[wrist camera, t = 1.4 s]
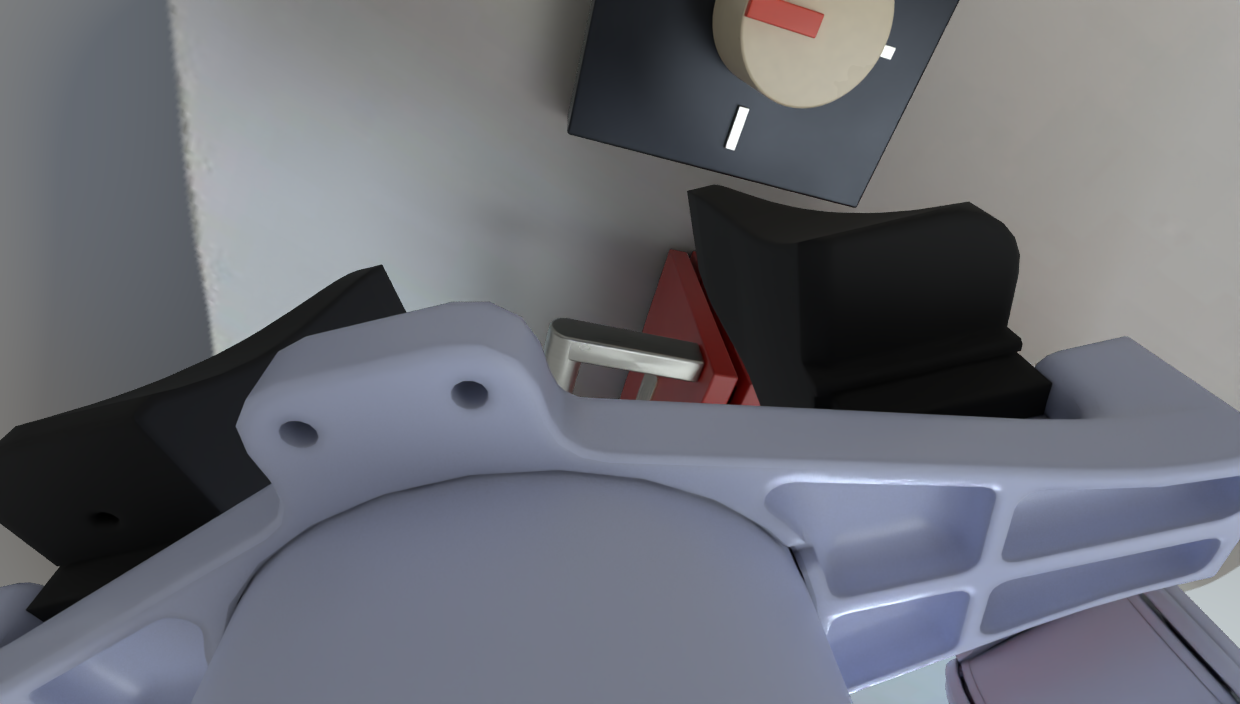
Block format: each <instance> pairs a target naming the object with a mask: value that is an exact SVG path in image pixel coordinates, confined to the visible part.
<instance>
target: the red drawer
mask: <svg viewBox="0 0 1240 704" xmlns="http://www.w3.org/2000/svg"><path fill="white" fill-rule="evenodd" d="M544 354H545V357H546V360H547V362H548V365H549V368H550V371H551V373H552V375H553V376H554V378H555V380H556V382H557V384H558V385H559V386H560V387H561V388H562V389H563V390H565V391H567V392H569V393H571V394H573V390H574V386H575V383H576V379H577V376H578V372H579V368H580V365H581V362H582V363H588V364H593V365H599V366H604V367H610V368H616V369H621V370H627V371H629V373H628V376H627V379H626V382H625V385H624V388H623V390H622V393H621V396H620V399H627V400H647V401H668V402H688V403H709V404H727V402H728V400H729V398H730V396H731V393H732V391H733V389H734V387H735V385H736V383H737V380H738V376H737V374H736V371H735V369H734V367H733V364H732V362H731V359H730V357H729V354H728V352H727V349H726V347H725V344H724V342H723V340H722V337H721V335H720V332H719V330H718V327H717V325H716V322H715V320H714V318H713V315H712V313H711V310H710V308H709V305H708V303H707V300H706V298H705V295H704V293H703V291H702V288H701V286H700V283H699V281H698V278H697V276H696V273H695V271H694V268H693V266H692V264H691V261H690V259H689V256H688V254H687V253H686V252H682V251H677V250H673V249H670V250H669V253H668V256H667V259H666V262H665V265H664V268H663V271H662V274H661V277H660V280H659V283H658V286H657V289H656V292H655V295H654V298H653V301H652V304H651V307H650V310H649V313H648V316H647V319H646V322H645V325H644V328H643V331H642V332H637V331H632V330H627V329H621V328H616V327H611V326H606V325H601V324H596V323H590V322H585V321H580V320H575V319H570V318H557V319H554V320H553V321H552V322H551V323H550V325H549V329H548V333H547V338H546V342H545V346H544Z"/></svg>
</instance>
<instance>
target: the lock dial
mask: <svg viewBox="0 0 1240 704" xmlns="http://www.w3.org/2000/svg"><path fill="white" fill-rule="evenodd" d="M894 3H895V2H894V0H716V1H715V5H714V11H713V25H712V27H713V37H714V41H715V45H716V48H717V51H718V54H719V56H720V58H721V60H722V61H723V63H724V64H725V66H726V67H727V68H728V69H729V70H730V72H731V73H732V74H734V75H735V76H736V77H737V78H739V79H740V80H742V81H743V82H745V83H746V84H748V85H749V86H751V87H752V88H754V89H755V90H757V91H758V92H760V93H761V94H763V95H764V96H766V97H767V98H769V99H770V100H772V101H774V102H776V103H778V104H780V105H783V106H786V107H791V108H802V109H804V108H814V107H818V106H822V105H825V104H828V103H831V102H833V101H835V100H837V99H839V98H841V97H842V96H844V95H845V94H847V93H848V92H850V91H851V90H852V89H853V88H854V87H856V86H857V85H858V84H859V83H860V82H861V81H862V80H863V79H864V78H865V77H866V76H867V74H868V73H869V72H870V71H871V69H872V68H873V67H874V65H875V64H876V62H877V61H878V59H879V57H880V55H881V53H882V52H883V50H884V48H885V45H886V43H887V40H888V37H889V34H890V31H891V27H892V22H893V16H894Z"/></svg>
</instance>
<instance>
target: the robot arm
mask: <svg viewBox="0 0 1240 704" xmlns="http://www.w3.org/2000/svg"><path fill="white" fill-rule="evenodd" d="M687 193H688V200H689V207H690V214H691V221H692V227H693V234H694V241H695V248H696V255H697V261H698V268H699V272H700V275H701V278H702V281H703V284H704V287H705V290H706V293H707V295H708V298H709V301H710V303H711V305H712V307H713V309H714V310H715V312H716V314H717V316H718V318H719V320H720V322H721V324H722V325H723V327H724V329H725V331H726V333H727V335H728V336H729V338H730V340H731V342H732V344H733V346H734V347H735V349H736V351H737V353H738V355H739V357H740V358H741V360H742V362H743V364H744V366H745V368H746V371H747V373H748V375H749V377H750V380H751V382H752V385H753V388H754V390H755V393H756V395H757V398H758V401H759V403H760V406H750V405H729V404H709V403H688V402H668V401H647V400H627V399H606V398H586V397H578V396H576V395H573V394H571V393H569V392H567V391H565V390H563V389H562V388H561V387H560V386H559V385H558V384H557V382H556V380H555V378H554V376H553V375H552V373H551V371H550V368H549V365H548V362H547V360H546V357H545V354H544V351H543V348H542V346H541V343H540V341H539V340H538V338H537V337H536V336H535V334H534V333H533V332H532V330H531V329H530V328H529V326H528V325H527V323H526V322H525V321H524V319H523V318H522V317H521V316H519V315H516V314H514V313H512V312H510V311H508V310H506V309H504V308H502V307H499V306H497V305H495V304H493V303H491V302H449V303H445V304H441V305H437V306H432V307H428V308H424V309H420V310H415V311H411V312H407V313H406V311H405V309H404V307H403V305H402V303H401V301H400V299H399V297H398V295H397V293H396V291H395V289H394V287H393V285H392V283H391V281H390V279H389V277H388V275H387V273H386V271H385V269H384V267H383V265H378V266H374V267H370V268H366V269H361V270H357V271H355V272H352V273H350V274H348V275H346V276H344V277H342V278H340V279H338V280H337V281H335V282H333V283H332V284H330V285H329V286H327V287H326V288H324V289H323V290H321V291H320V292H318V293H317V294H315V295H314V296H312V297H311V298H309V299H308V300H306V301H305V302H303V303H302V304H300V305H299V306H297V307H296V308H294V309H293V310H291V311H290V312H288V313H287V314H285V315H284V316H282V317H281V318H279V319H277V320H276V321H274V322H273V323H271V324H270V325H268V326H266V327H265V328H263V329H262V330H260V331H259V332H257V333H255V334H253V335H252V336H250V337H248V338H247V339H245V340H243V341H241V342H239V343H238V344H236V345H234V346H232V347H230V348H228V349H226V350H224V351H222V352H221V353H219V354H217V355H215V356H213V357H211V358H209V359H206V360H204V361H202V362H200V363H197V364H195V365H193V366H191V367H188V368H186V369H184V370H182V371H180V372H177V373H175V374H173V375H171V376H168V377H166V378H164V379H161V380H159V381H156V382H153V383H151V384H148V385H146V386H143V387H140V388H138V389H135V390H132V391H129V392H127V393H124V394H121V395H118V396H116V397H112V398H110V399H107V400H104V401H100V402H98V403H95V404H91V405H88V406H84V407H81V408H78V409H74V410H71V411H68V412H64V413H61V414H57V415H54V416H51V417H48V418H44V419H41V420H37V421H33V422H29V423H26V424H23V425H19V426H15V427H14V428H13V429H12V430H11V431H10V432H9V433H8V434H7V435H6V436H5V437H3V438H2V439H1V440H0V524H2V525H3V526H4V527H6V528H7V529H8V530H10V531H11V532H13V533H14V534H15V535H16V536H18V537H19V538H20V539H22V540H23V541H24V542H26V543H27V544H28V545H30V546H31V547H32V548H33V549H35V550H36V551H37V552H39V553H40V554H41V555H43V556H44V557H46V558H47V559H48V560H49V561H51V562H52V563H53V564H55V565H56V566H60V567H59V568H58V570H57V571H56V572H55V573H54V575H53V576H52V577H51V579H50V580H49V581H48V582H47V584H46V585H45V586H43V585H40V584H35V583H17V584H12V585H7V586H3V587H0V704H853V702H852V700H851V697H850V695H849V694H851V693H854V692H856V691H859V690H862V689H865V688H867V687H870V686H873V685H876V684H878V683H881V682H884V681H887V680H889V679H892V678H895V677H897V676H900V675H903V674H906V673H908V672H911V671H914V670H917V669H919V668H922V667H925V666H928V665H930V664H933V663H936V662H939V661H941V660H944V659H947V658H949V657H952V656H956V659H953V660H951V661H949V662H948V663H947V665H946V669H945V675H946V683H945V689H946V695H947V699H948V702H949V704H1240V649H1239V648H1238V647H1237V646H1236V644H1235V643H1234V642H1233V641H1232V640H1230V639H1229V637H1228V636H1227V635H1226V634H1225V633H1224V632H1223V631H1222V630H1221V629H1220V628H1219V627H1218V626H1217V625H1216V624H1215V623H1214V622H1213V621H1212V620H1211V619H1210V618H1209V617H1208V616H1207V615H1206V614H1205V613H1204V612H1203V611H1202V610H1201V609H1200V608H1199V607H1198V606H1197V605H1196V604H1195V603H1194V602H1193V601H1192V600H1191V599H1190V598H1189V597H1188V596H1187V595H1186V594H1185V593H1184V592H1183V591H1182V590H1181V589H1180V588H1179V587H1178V586H1177V585H1179V584H1184V583H1188V582H1192V581H1196V580H1201V579H1206V578H1210V577H1213V576H1214V575H1216V573H1217V572H1218V570H1219V569H1220V567H1221V566H1222V564H1223V563H1224V561H1225V560H1226V558H1227V557H1228V555H1229V554H1230V552H1231V551H1232V550H1233V548H1234V547H1235V545H1236V544H1237V542H1238V541H1239V539H1240V412H1239V411H1237V410H1236V409H1234V408H1233V407H1232V406H1230V405H1229V404H1227V403H1226V402H1224V401H1223V400H1221V399H1220V398H1218V397H1217V396H1215V395H1214V394H1212V393H1211V392H1209V391H1208V390H1206V389H1205V388H1203V387H1202V386H1200V385H1199V384H1197V383H1196V382H1194V381H1193V380H1192V379H1190V378H1189V377H1187V376H1186V375H1184V374H1183V373H1181V372H1180V371H1178V370H1177V369H1175V368H1174V367H1172V366H1171V365H1169V364H1168V363H1166V362H1165V361H1163V360H1162V359H1160V358H1159V357H1157V356H1156V355H1155V354H1153V353H1152V352H1150V351H1149V350H1147V349H1146V348H1144V347H1143V346H1141V345H1140V344H1138V343H1137V342H1135V341H1134V340H1132V339H1131V338H1129V337H1119V338H1115V339H1111V340H1106V341H1102V342H1097V343H1093V344H1088V345H1084V346H1079V347H1075V348H1070V349H1066V350H1061V351H1057V352H1055V353H1052V354H1050V355H1048V356H1046V357H1045V358H1043V359H1042V360H1041V361H1040V362H1039V363H1037V364H1036V366H1035V368H1034V367H1033V366H1032V365H1031V364H1030V363H1029V362H1027V361H1026V360H1025V359H1024V358H1023V357H1022V356H1021V355H1019V354H1018V353H1017V352H1018V351H1021V349H1022V341H1021V338H1020V337H1019V336H1017V335H1016V334H1015V333H1014V332H1013V331H1011V330H1010V329H1009V328H1008V327H1007V325H1008V320H1009V316H1010V311H1011V306H1012V302H1013V297H1014V293H1015V288H1016V283H1017V279H1018V274H1019V259H1020V254H1019V250H1018V247H1017V243H1016V240H1015V237H1014V236H1013V234H1012V233H1011V232H1010V231H1009V229H1008V228H1007V227H1006V226H1005V224H1004V223H1002V222H1001V221H999V220H997V219H996V218H994V217H993V216H991V215H990V214H988V213H986V212H985V211H983V210H982V209H980V208H978V207H977V206H975V205H974V204H972V203H970V202H964V203H957V204H951V205H945V206H938V207H932V208H926V209H919V210H911V211H898V212H886V213H836V212H824V211H816V210H808V209H801V208H796V207H791V206H787V205H783V204H778V203H774V202H771V201H767V200H763V199H760V198H757V197H754V196H751V195H748V194H745V193H742V192H739V191H736V190H733V189H730V188H727V187H724V186H720V185H710V186H706V187H702V188H698V189H694V190H690V191H687Z"/></svg>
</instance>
